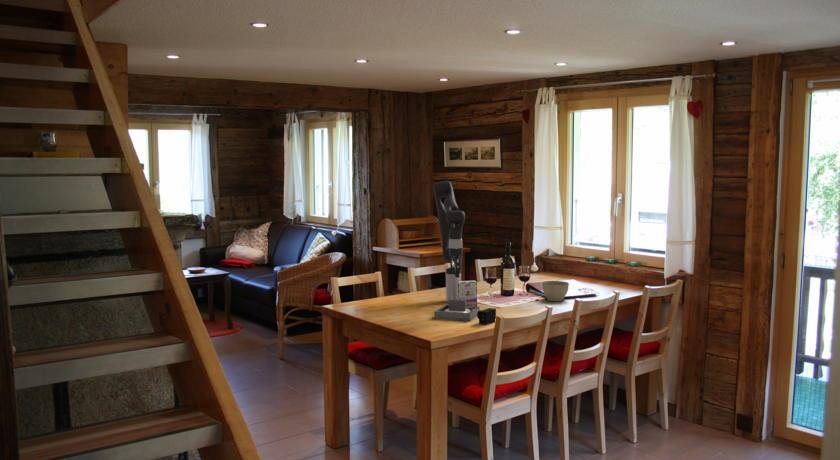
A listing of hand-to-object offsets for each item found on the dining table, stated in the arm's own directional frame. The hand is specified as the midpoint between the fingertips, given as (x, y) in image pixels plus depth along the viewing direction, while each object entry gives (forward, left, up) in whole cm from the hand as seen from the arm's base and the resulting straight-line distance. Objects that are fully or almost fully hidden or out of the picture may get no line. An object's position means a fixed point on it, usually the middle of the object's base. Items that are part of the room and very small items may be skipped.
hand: (455, 276), depth 384 cm
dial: (+3, +2, -20) cm, 20 cm away
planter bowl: (-59, +46, -22) cm, 78 cm away
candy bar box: (-16, +2, -22) cm, 27 cm away
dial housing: (+3, +2, -22) cm, 22 cm away
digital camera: (+13, +21, -22) cm, 33 cm away
